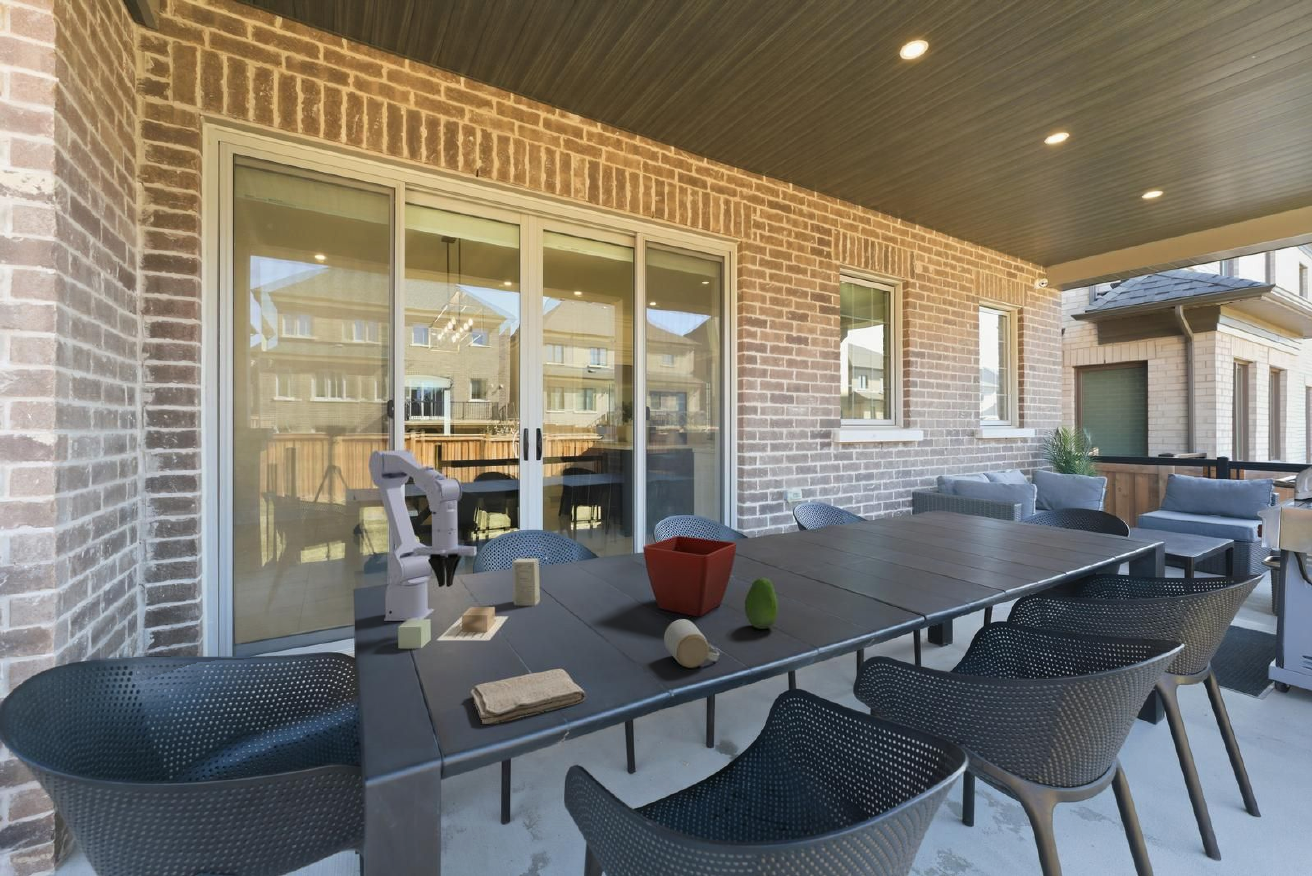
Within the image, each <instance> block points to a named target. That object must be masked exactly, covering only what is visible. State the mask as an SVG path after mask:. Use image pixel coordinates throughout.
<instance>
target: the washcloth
mask: <svg viewBox="0 0 1312 876" xmlns="http://www.w3.org/2000/svg"><path fill="white" fill-rule="evenodd" d="M470 694H471V696H472V697H473V704H475V705H474V707H476V708H475V709H476V711H477V710H478V711H477V713H478V716H479V718H481V719H480V721H481V720H482V721H481V723H482V725H483V724H484V725H489V724H490V725H491V724H499V723H503V722H508V721H509V722H510V721H513V720H518V719H521V717H522V718H525V717H524V716H526V717H529V716H530V717H531V716H533V715H534V716H535V715H536V714H541V713H540V712H542V713H545V712H544V711H546V712H550V711H553V710H557V709H560V708H564V707H569V706H573V705H576V704H581V703H582V702H583V701H585V700H586V698H587V694H586V692H585V691H584V689H583V688H581V687H580V686H579V685H578V684H577V683H575V682H574V681H573V679H572V678H571V677H570V675H569V673H568V672H566V671H565V670H564V669H562V668H557V669H555V668H554V669H549V670H546V671H542V672H541V671H540V672H534V673H533V672H531V673H529V674H527V673H526V674H525V675H519V676H514V677H509V678H506V679H500V680H495V681H490V682H485V683H480V684H477V685H475V686H474V687H473V689H471V690H470ZM538 712H539V713H538Z"/></svg>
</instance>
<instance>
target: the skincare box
mask: <svg viewBox="0 0 1312 876" xmlns="http://www.w3.org/2000/svg"><path fill="white" fill-rule="evenodd" d="M539 563H540V560H539V557H537V558H536V557H535V558H533V557H532V558H530V557H529V558H527V557H523V558H521V557H519V558H516V559H515V560H513V561H512V579H513V582H512V583H513V605H514V606H528V607H529V606H530V607H531V606H533V607H535V606H537V605H538V604H539V602H540V601H541V597H540V596H541V594H540V593H541V592H540V590H541V589H540V587H541V586H540V564H539Z"/></svg>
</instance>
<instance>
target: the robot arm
mask: <svg viewBox="0 0 1312 876" xmlns="http://www.w3.org/2000/svg"><path fill="white" fill-rule="evenodd" d="M368 461H369V462H368V469H369V472H370V473H369V474H370V477H371V480H372V483H373V485H374V486H376V487H378V491H379V493H380V498H381V501H382V504H383V508H384V511H385V515H386V518H387V522H388V526H389V528H390V532H391V536H392V539H393V543H394V546H395V548H394V549H393V550H392V551H391V552H390V554H389V555H388V556H387V565H388V571H387V572H388V575H389V578H390V580H391V582H390V583H389V584H388V585H387V587H386V589H385V590H386V591H385V617H384V622H385V621H386V622H388V621H392V622H395V621H396V622H398V621H401V622H402V621H403V622H406V621H407V620H408V619H426V617H429V615H430V614H432V613H433V612H434V608H429V607H428V598H429V597H428V581H430V580H431V576H433V574H434V575H435V577H436V580H437V584H438V585H437V586H438V587H439V588H442V587H443V586H445V585H446V588H449V587H451V586H453V584H454V578H455V574H456V571H457V568H458V565H459V563H460V561H461V559H462V556H470V557H475V556H477V546H473V545H472V546H470V545H459V544H458V543H459V541H458V538H459V537H458V534H459V533H458V502H459V501H460V500H461V499H462V496H463V487H462V483H461V482H460V480H458V478H457V477H451V478H448V477H446V476H445V475H444V474H443V473H441V472H439V471H438V470H436V469H435V466H433V465H425V466H423V465H422V463H420V462H419V461H418V460H417V459H416V456H415V453H414V452H413V451H411V449H402V450H400V449H399V450H374V451H372V453H371V454H370V456H369V460H368ZM410 477H411V478H412V479H413V484H414V486H416V487H417V488H418V489H420V490H421V491H422V492H424V493H425V494H426V500H427V501H428V509H429V511H430V512H431V543H432V545H431V546H430V545H429V546H427V545H425V544H424V543H421V542H419V541H418V540H417V538H416V535H415V532H414V531H415V530H414V528H413V525H412V521H411V517H410V514H409V511H408V507H407V505H406V501H405V496H404V494H403V491H402V486H403V485H405V484H407V483H408V481H409V479H410Z"/></svg>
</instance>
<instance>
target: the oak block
mask: <svg viewBox="0 0 1312 876" xmlns="http://www.w3.org/2000/svg"><path fill="white" fill-rule="evenodd" d="M495 616H496V607H495V606H470V607H469V608H468V609H467V610H466V611H465V612H464V613H463V614H461V617H462V632H488V631H489V630H490V628H491V627H492V626H493V625H494V624H495Z"/></svg>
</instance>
